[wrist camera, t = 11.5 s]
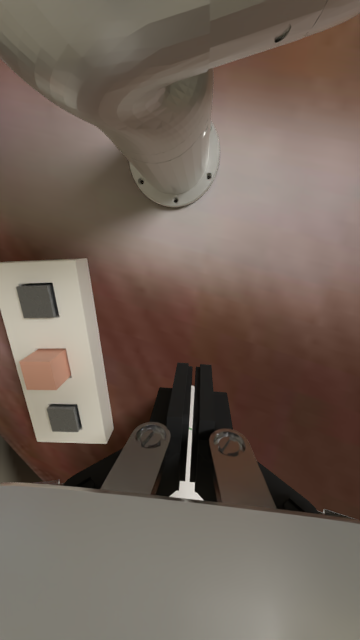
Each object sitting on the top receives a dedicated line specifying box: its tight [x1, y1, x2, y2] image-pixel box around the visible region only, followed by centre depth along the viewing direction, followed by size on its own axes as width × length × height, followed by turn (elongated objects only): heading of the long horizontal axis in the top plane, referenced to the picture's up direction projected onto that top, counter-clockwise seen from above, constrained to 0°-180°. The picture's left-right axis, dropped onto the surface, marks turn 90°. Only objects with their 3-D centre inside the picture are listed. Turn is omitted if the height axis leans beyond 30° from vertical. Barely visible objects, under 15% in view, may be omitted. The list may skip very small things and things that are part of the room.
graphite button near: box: [16, 283, 59, 318], centre depth 40 cm, size 5×5×5 cm
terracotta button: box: [19, 348, 71, 390], centre depth 40 cm, size 5×5×5 cm
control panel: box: [0, 258, 114, 444], centre depth 43 cm, size 14×34×4 cm, turn 3°
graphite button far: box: [47, 404, 82, 432], centre depth 46 cm, size 5×5×5 cm
